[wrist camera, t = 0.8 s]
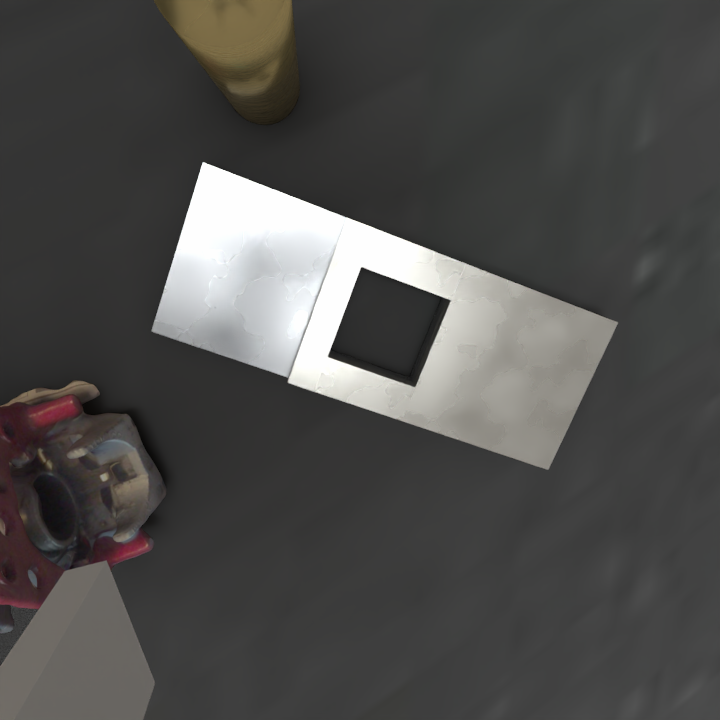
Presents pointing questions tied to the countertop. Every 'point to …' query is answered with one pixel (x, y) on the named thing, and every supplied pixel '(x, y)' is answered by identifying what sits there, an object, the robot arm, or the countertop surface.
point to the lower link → (251, 273)
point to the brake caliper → (68, 492)
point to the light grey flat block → (460, 351)
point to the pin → (243, 51)
